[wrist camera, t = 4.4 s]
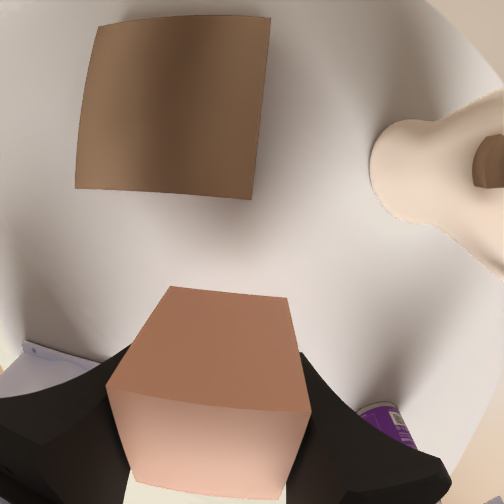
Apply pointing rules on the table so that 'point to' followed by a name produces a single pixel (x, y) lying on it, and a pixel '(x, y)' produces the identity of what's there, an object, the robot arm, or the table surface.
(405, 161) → the beer glass
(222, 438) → the terracotta block
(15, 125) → the table surface
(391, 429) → the container
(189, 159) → the walnut base
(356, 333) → the table surface
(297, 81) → the table surface
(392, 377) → the table surface
